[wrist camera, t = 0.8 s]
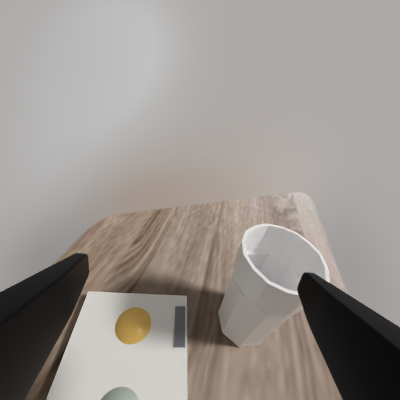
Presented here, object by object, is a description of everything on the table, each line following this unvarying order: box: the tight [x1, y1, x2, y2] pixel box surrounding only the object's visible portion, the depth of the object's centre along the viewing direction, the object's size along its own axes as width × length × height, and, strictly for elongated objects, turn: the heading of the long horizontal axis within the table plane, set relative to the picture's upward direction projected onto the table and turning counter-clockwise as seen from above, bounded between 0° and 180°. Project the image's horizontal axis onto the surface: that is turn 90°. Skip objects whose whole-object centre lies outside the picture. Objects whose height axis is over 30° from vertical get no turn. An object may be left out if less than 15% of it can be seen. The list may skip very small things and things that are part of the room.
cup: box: [218, 224, 330, 348], centre depth 19 cm, size 7×7×11 cm
